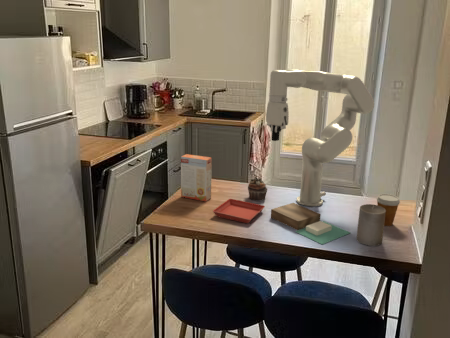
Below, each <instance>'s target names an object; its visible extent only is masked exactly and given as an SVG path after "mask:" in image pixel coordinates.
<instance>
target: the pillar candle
mask: <svg viewBox="0 0 450 338" xmlns="http://www.w3.org/2000/svg"><path fill="white" fill-rule="evenodd" d="M358 213H359V214H358V221H357V231H356V241H357V242H358V243H359V244H362V245H365V246H369V247H377V246H378V247H379V246H380V245H381V244H383V243H382V242H383V238H384V229H385V226H384V222H385V213H386V210H385V209H384V208H383V207H381V206H378V205H377V204H372V203H371V204H370V203H366V204H361V205H360V206H359V212H358Z"/></svg>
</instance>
